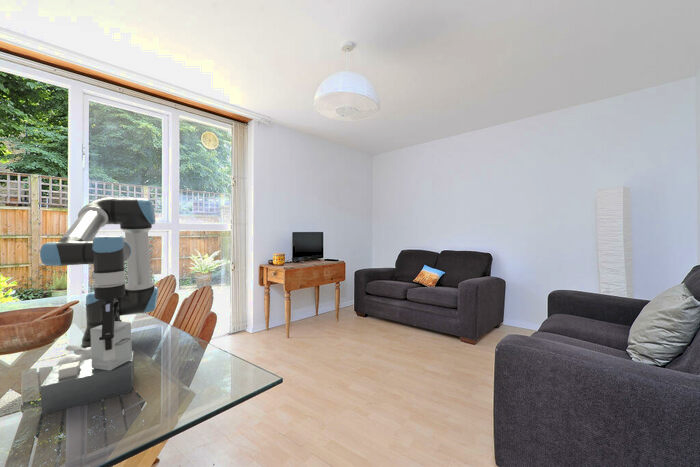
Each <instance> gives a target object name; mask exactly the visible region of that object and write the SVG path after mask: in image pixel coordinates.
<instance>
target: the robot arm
mask: <svg viewBox="0 0 700 467" xmlns="http://www.w3.org/2000/svg"><path fill="white" fill-rule="evenodd" d="M154 208H155V207H154V205H153V203H152V201H151V199H147V198H138V197H104V198H100V199H97V200H93V201H91V202H89V203H88V204H86V205H85V206H84V207H82V208H81V209H80V210H79V212H78V213H77V219H76V220H75V221H74V222H73V224H72V225H71V226H70V228H68V230H67V231H66V232H65V234H63V236H62V237H61V238H60V240H58V242H56V241H52V242H46V243H43V244H42V245H41V248H40V251H39V257H40V260H41V263H42V264H43V265H44V266H47V267H54V266H55V267H64V266H74V265H75V266H77V265H93V275H91V277H90V278H91V279H92V280H93V281H94V286H95V287H94V288H93V290H94V291H91V292H89V293H88V294H86V296H85V297H86V298H85V303H84V304H85V311H86V313H85V314H86V328H85V330H84V334H83V335H82V338H81V346H82V347H83V348H84V347H85V348H87V347H91V333H90V329H92V328H94V327H97V326H100V325H102V337H99V340H103V361H107V360H112V359H115V337H114V321H120V322H123V321H122V319H121V316H122V317H123V316H129V315H138V314H139V315H140V314H147V313H151V312H154V311H155V310H156V308H157V302H158V297H159V287H158V286H155V282H153V281H152V280H151V267H150V266H151V265H150V248H149V246H150V245H149V243H150V242H149V231H150V230H151V229H153V226H152V225H155V224H156V215H155V210H154ZM106 225H119V226H120V230H122V231H123V232H124V237H125V238H124V237H123V236H121V235H98V236H97V234H98V232H99V231H100V229H101V228H103V227H105V226H106ZM124 239H125V240H124ZM125 261H126V269H125ZM126 272H127V273H126ZM126 275H127V283H126ZM125 283H126V284H125ZM108 333H110V334H108ZM106 334H107V335H106Z"/></svg>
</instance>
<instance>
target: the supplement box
mask: <svg viewBox="0 0 700 467" xmlns="http://www.w3.org/2000/svg"><path fill="white" fill-rule="evenodd" d="M90 333H91V361H92V368H95V369H101V370H109V371H111V370H112V369H114V368H116V367H118V366H120V365H122V364H124V363H126V362H128V361H130V360H132V351H133V350H132V323H131V322H130V321H122V322H120V321H114V337H115V359H112V360H107V361H103V340H99V337H102V325H100V326H97V327H94V328H92V329H90ZM108 334H110V333H108ZM106 335H107V334H106Z"/></svg>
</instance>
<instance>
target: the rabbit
mask: <svg viewBox="0 0 700 467" xmlns="http://www.w3.org/2000/svg"><path fill="white" fill-rule="evenodd" d="M64 349H65V351H70V352H73V353H72V354H67V355H65V356H63V357H62V358H61V359H59V361H58V362H57V364H56V365H55V366H58V365H62V364H67V363H71V362H73V361H84V360H89V359H91V347H85V348H84V347H80V346H78V345H74V344H68V345H66V347H65V348H64Z"/></svg>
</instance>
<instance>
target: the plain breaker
mask: <svg viewBox="0 0 700 467" xmlns="http://www.w3.org/2000/svg"><path fill="white" fill-rule="evenodd" d="M79 373H80V361H78V362H73V363H67V364H62V365H61V367H60V368H59V370H58V374H59V379H61V378H65V377H70V376H75V375H79Z"/></svg>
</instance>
